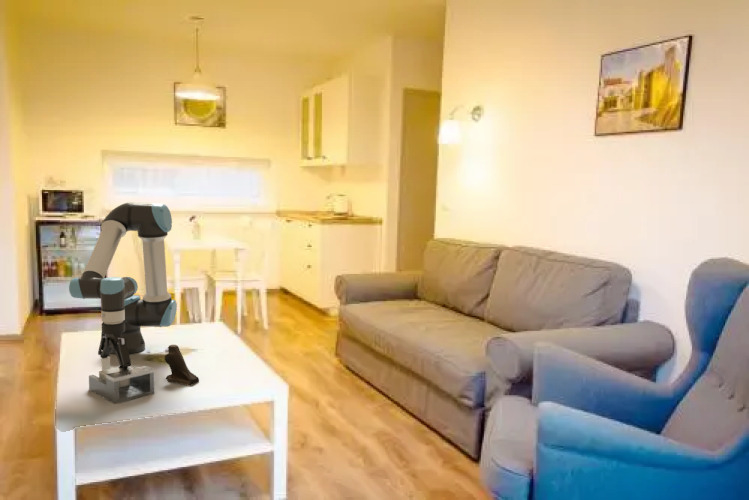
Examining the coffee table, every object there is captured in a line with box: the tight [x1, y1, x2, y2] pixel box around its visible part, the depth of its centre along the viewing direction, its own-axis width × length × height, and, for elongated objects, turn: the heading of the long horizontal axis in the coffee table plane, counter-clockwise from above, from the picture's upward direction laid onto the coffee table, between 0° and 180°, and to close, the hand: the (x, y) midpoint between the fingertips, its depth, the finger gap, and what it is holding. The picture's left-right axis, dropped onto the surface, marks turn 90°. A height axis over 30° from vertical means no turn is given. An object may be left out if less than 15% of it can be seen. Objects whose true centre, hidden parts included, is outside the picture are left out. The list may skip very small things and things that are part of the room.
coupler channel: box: [88, 365, 155, 405], centre depth 202 cm, size 19×14×9 cm
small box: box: [98, 366, 130, 388], centre depth 205 cm, size 8×8×5 cm
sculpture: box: [164, 344, 200, 386], centre depth 214 cm, size 6×13×13 cm, turn 68°
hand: (114, 380), depth 206 cm, fingers open, 13 cm apart
